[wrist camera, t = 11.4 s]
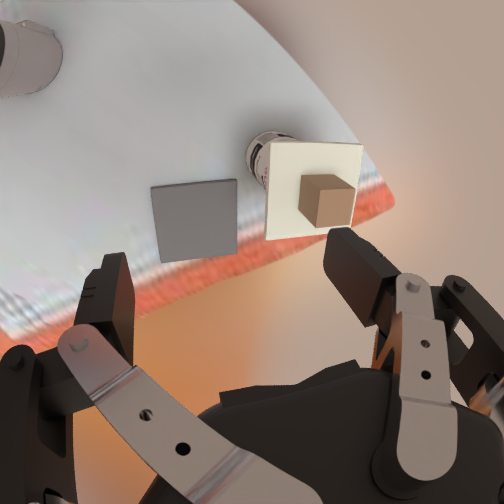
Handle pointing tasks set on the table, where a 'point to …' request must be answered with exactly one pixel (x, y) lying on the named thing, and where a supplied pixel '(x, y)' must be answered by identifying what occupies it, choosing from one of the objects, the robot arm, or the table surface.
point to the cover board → (289, 181)
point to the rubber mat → (195, 219)
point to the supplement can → (262, 154)
